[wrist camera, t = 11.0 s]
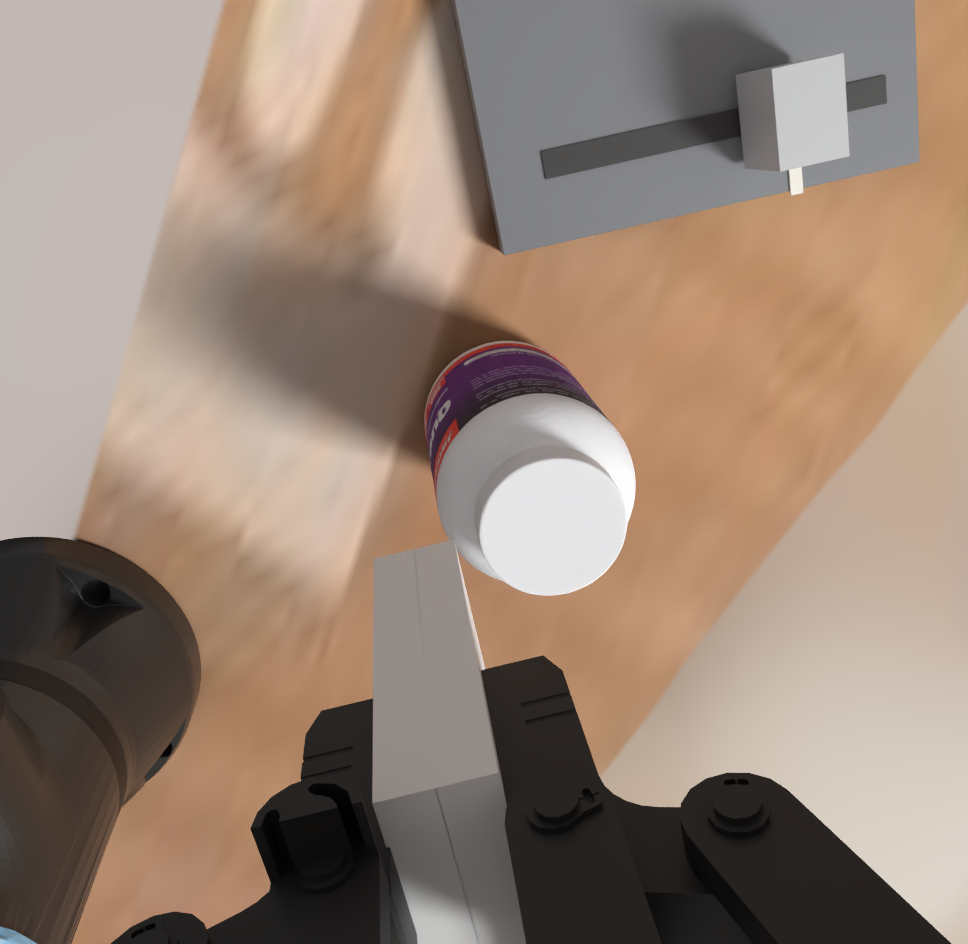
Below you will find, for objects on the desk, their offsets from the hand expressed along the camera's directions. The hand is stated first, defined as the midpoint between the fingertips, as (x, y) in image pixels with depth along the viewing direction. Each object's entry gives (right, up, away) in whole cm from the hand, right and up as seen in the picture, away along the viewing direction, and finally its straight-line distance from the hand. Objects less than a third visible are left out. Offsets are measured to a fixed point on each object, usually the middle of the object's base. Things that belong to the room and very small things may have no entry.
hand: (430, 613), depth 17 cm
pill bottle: (+2, +6, +30) cm, 30 cm away
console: (+10, +23, +24) cm, 35 cm away
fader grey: (+14, +19, +24) cm, 34 cm away
